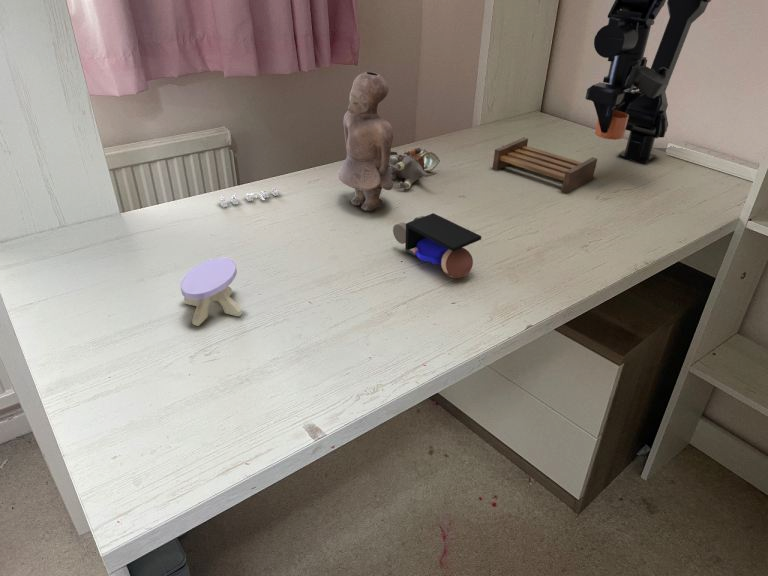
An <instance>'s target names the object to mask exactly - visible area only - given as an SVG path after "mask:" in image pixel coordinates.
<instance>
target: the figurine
mask: <svg viewBox="0 0 768 576" xmlns="http://www.w3.org/2000/svg"><path fill="white" fill-rule="evenodd" d="M440 162H441V160H440V158H439V157H438V155H436V153H434V152H432V151H428V150H426V149H421V148H420V147H416V148H413V149H412V148H411V149H410V150H404V151H403V154H398V152H397V151H394V150H391V152H390V160H389V165H388V168H389V171H390V175H391V178H392V181H393V180H396V179H398V178H400V179H402V180H404V182H403V181H399V183H398V185H397V186H398V189H401V190H402V189H406V190H408V189H411V187H412V184H414V183H415V182H416V181H417V180H419V178H421V177H423V178H427V177H431V176H435V175H437V174H438V173H437V172H433V173H429V172H430V171H433V170H434V169H435V168H436V167H437V166H438V165H439V164H440Z"/></svg>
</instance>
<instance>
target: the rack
mask: <svg viewBox="0 0 768 576" xmlns="http://www.w3.org/2000/svg"><path fill="white" fill-rule="evenodd" d="M528 142H529V138H528V137H520V138H519V139H517V140H515V141H512V142H509V143H507V144H505V145H503V146H500V147H498V148H496V149H494V154H493V160H492V161H493V162H492V168H491V169H492V170H495V171H498V170H500V169H503V168H505V167H507V166H509V165H512V166H516V167H520V168H523V169H526V170H529V171H532V172H535V173H538V174H541V175H545V176H547V177H551V178H554V179H556V180H559V181H562V187H561V193H562V194H563V193H564V194H568V193H570V192H572V191H574V190H575V189H577V188H578V187H580V186H582V185H585V184H586V183H587V182H589V181H591V180H592V179H594V176H595V171H596V167H597V164H598V163H597V162H598V158H597V157H593V156H592V157H590V158H588V159H587V160H584V161H583V162H582V161H579V160H576V159H572V158H569V157H565V156H562V155H558V154H555V153H552V152H549V151H547V150H542V149H538V148H535V147H532V146H529V145H528Z"/></svg>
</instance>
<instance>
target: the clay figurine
mask: <svg viewBox="0 0 768 576" xmlns="http://www.w3.org/2000/svg"><path fill="white" fill-rule="evenodd" d="M388 93H389V84H388V82H387V80H386V79H385V78H384V77H383V76H382V75H381V74H379V73H377V72H374V71H365V72H362V73H360V74H358V75H357V76H356V77H355V78H354V80H353V82H352V87H351V90H350V92H349V99H348V100H349V103H348V107H347V111H346V112H345V113H344V116H343V121H342V122H343V130H344V131H343V133H344V140H345V148H346V158H345V159H344V162H343V163H342V165H341V166H340V168H339V170H338V172H337V175H338V179H339V181H340V182H341V183H342V184H344V186H345V185H346V186H348V187H349V188H352V189H354V193H355V194H354V196H353V198H352V199H351V201H350V202H351V204H352V205H353V206H360V208H361V210H363V211H368V212H371V211H374V210H375V209H377V208H378V207H381V206H382V205H383V204H384V200H383V199H382V198H380V197H381V193H382V189H383V190H385V191H391V190H393V187H394V181H393V180H392V178H391V175H390V171H389V168H388V165H389V160H390V152H391V151H392V145H393V140H394V130H393V127H392V125H391V123H390V122H388V121H387V120H386V119H384V118H383V117H381V116H380V115H379V114H378V105H379V104H380V103H381V102H382V101H383V100H385V98H386V97H387V96H388Z"/></svg>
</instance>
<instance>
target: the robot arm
mask: <svg viewBox="0 0 768 576" xmlns="http://www.w3.org/2000/svg"><path fill="white" fill-rule="evenodd" d="M711 1H712V0H614V2H613V4H612V6H611V8H610V10H609V12H608V13H607V19H608V23H607V24H606V25H604V26H603V27H601V28H599V30H598V31H597V32H596V34H595V36H594V39H593V47H594V50H595V52H596V53H597V54H598V56H600V57H602V58H605V59H607V62H610V65H609V70H608V73H607V75H606V76H604V77H603V80H602V82H598V83H594V84H593V85H591V86H589V87H588V88H587V90H586V94H585V97H584V98H585V100H587V101H591V102H593V106H594V109H595V112H596V117H597V121H598V120H599V125H600V129H601V132H603V133H607V131H608V129H609V127H610V124H611V121H612V119H613V116H614V114H615V111H616V110H617V111H621V112H624V113H627V114H628V115H629V118H628V122H627V126H626V130H625V131H628V132H629V135H628V139H627V143H626V147H625V150H624V151H622V152H620V153H619V154H618V157H619V158H623V159H626V160H630V161H632V162H633V161H634V162H636V163H640V164H647V163H648V162H650V161H652V160H653V159H654V158H655V157H656V155H655V154H653V153H652V151H653V147H654V144H655V141H656V140H655V139H659V138H665V136H666V133H667V131H668V128H669V121H668V116H667V109H668V106H669V103H668V98H667V93H666V91H667V89H668V86H669V83H670V81H671V77H672V75H673V74H674V70H675V68H676V65H677V63H678V60H679V57H680V55H681V53H682V49H683V47H684V45H685V42H686V39H687V36H688V34H689V31H690V28H691V26H692V25H693V23H694V22H695V21H697V19H699V18H700V17H701V16H702V15H703V14H704V13H705V11H706V9H707V7H708V5H709V3H710V2H711ZM665 4H666V6H667V10H668V15H669V16H668V17H669V18H668V21H667V24H666V26H665V29H664V31H663V34H662V37H661V39H660V42H659V45H658V48H657V51H656V53H655V55H654V58H653V61H652V64H651V66H650V67H648V66H647V63H648V59H647V57H646V56H645V51H646V48H647V43H648V39H649V36H650V32H651V29H652V28H651V27H652V26H653V25H654V24H655V20H656V18H657V17H658V15H659V14H660V12H661V10H662V8H663V7H664V6H665Z"/></svg>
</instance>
